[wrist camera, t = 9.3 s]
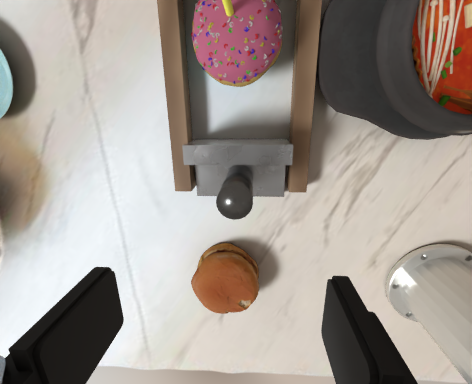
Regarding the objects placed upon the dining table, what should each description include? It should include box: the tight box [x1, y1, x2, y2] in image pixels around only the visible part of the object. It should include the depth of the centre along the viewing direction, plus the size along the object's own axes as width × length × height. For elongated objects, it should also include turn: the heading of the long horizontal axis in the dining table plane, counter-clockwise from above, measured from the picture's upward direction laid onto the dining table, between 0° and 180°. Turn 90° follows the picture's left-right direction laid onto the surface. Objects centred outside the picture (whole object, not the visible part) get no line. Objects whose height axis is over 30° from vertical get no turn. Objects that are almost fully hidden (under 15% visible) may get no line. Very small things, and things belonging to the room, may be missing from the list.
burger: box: [191, 243, 259, 314], centre depth 34 cm, size 10×9×5 cm
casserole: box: [316, 0, 472, 140], centre depth 21 cm, size 25×19×8 cm
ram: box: [182, 139, 293, 219], centre depth 26 cm, size 11×7×10 cm, turn 91°
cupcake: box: [191, 0, 283, 87], centre depth 21 cm, size 9×8×12 cm
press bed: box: [157, 0, 322, 192], centre depth 25 cm, size 16×24×6 cm, turn 1°
